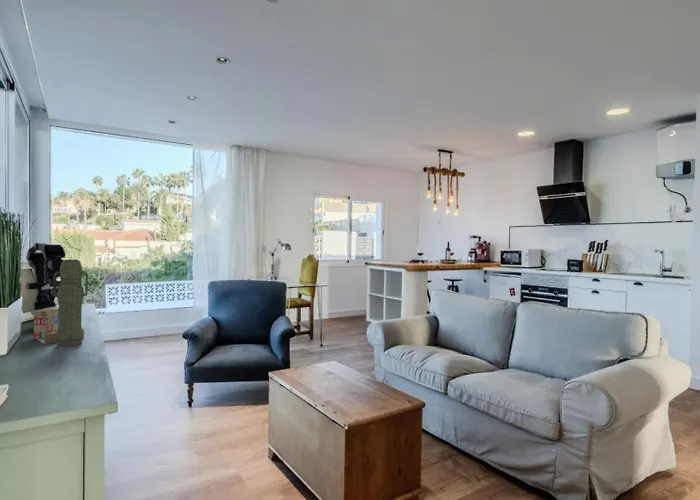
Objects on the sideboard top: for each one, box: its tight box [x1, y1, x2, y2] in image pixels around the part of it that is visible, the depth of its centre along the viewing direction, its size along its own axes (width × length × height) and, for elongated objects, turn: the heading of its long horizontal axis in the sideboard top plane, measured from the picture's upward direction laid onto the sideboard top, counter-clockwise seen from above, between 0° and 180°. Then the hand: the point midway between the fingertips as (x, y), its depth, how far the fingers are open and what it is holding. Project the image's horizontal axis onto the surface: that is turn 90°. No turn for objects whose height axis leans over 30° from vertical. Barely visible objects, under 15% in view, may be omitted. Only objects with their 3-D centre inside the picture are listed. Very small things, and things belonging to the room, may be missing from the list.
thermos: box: [52, 259, 89, 348], centre depth 169 cm, size 9×12×35 cm
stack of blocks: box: [32, 306, 59, 340], centre depth 187 cm, size 21×6×12 cm, turn 179°
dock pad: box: [37, 328, 85, 345], centre depth 178 cm, size 11×14×4 cm
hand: (51, 303), depth 193 cm, fingers closed
